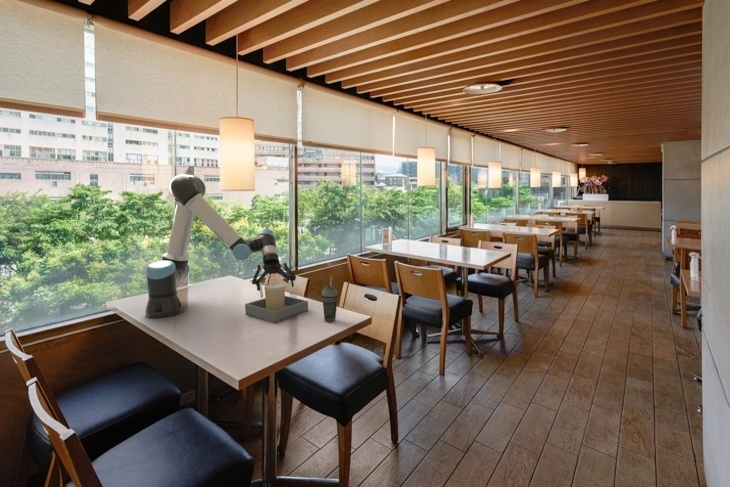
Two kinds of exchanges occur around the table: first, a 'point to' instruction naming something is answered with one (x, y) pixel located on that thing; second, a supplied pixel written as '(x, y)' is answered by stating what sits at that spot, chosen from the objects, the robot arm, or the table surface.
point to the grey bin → (290, 310)
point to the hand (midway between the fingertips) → (277, 294)
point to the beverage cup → (329, 302)
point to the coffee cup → (275, 296)
